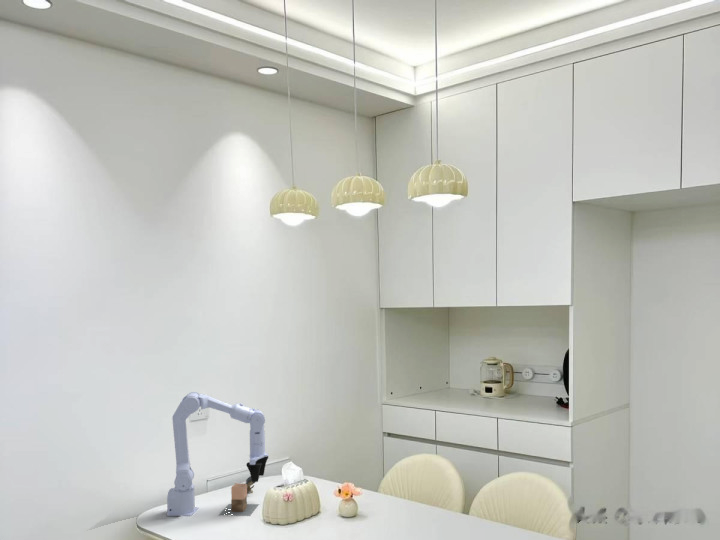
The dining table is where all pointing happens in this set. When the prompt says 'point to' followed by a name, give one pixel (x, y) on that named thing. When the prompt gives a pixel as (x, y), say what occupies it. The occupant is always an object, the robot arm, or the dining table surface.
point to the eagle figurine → (249, 484)
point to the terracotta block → (239, 491)
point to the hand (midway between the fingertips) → (258, 478)
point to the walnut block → (238, 505)
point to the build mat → (247, 512)
